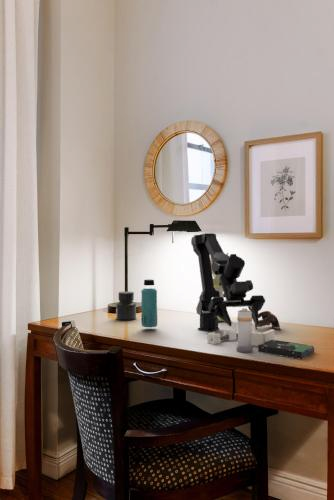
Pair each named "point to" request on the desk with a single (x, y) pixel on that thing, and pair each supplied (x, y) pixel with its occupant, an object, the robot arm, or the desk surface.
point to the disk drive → (286, 349)
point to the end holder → (262, 337)
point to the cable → (225, 337)
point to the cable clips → (217, 336)
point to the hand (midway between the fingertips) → (244, 324)
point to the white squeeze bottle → (244, 331)
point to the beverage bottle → (149, 305)
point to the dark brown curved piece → (267, 320)
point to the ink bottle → (126, 306)
